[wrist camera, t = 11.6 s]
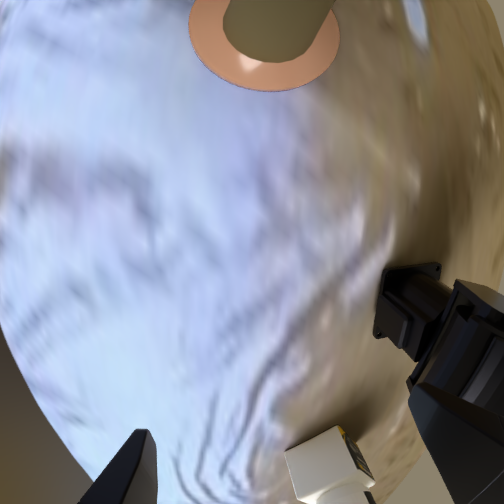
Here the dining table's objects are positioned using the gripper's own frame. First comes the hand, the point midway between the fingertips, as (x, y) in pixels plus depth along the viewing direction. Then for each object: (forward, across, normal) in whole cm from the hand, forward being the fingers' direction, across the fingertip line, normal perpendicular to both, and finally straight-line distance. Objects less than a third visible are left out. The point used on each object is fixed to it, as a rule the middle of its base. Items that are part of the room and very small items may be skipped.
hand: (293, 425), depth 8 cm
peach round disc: (+13, -2, -17) cm, 22 cm away
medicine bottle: (+13, -8, +24) cm, 29 cm away
